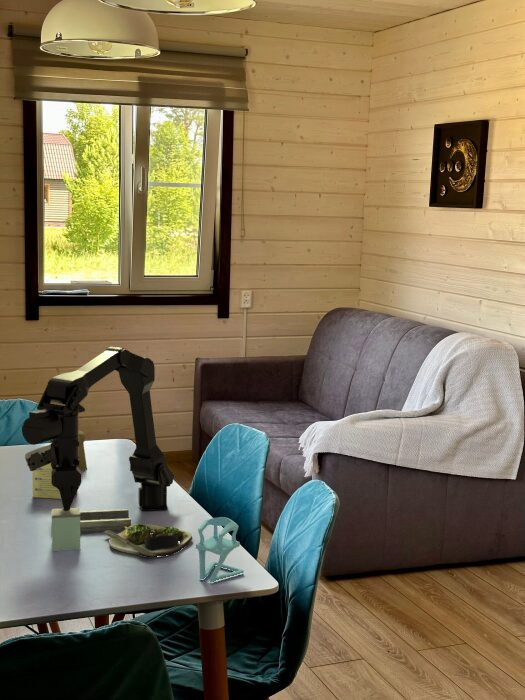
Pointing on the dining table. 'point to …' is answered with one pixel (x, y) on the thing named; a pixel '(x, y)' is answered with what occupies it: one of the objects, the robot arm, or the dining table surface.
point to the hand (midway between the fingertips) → (66, 504)
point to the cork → (82, 452)
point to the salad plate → (149, 540)
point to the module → (65, 529)
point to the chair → (217, 547)
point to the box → (44, 483)
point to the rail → (104, 521)
